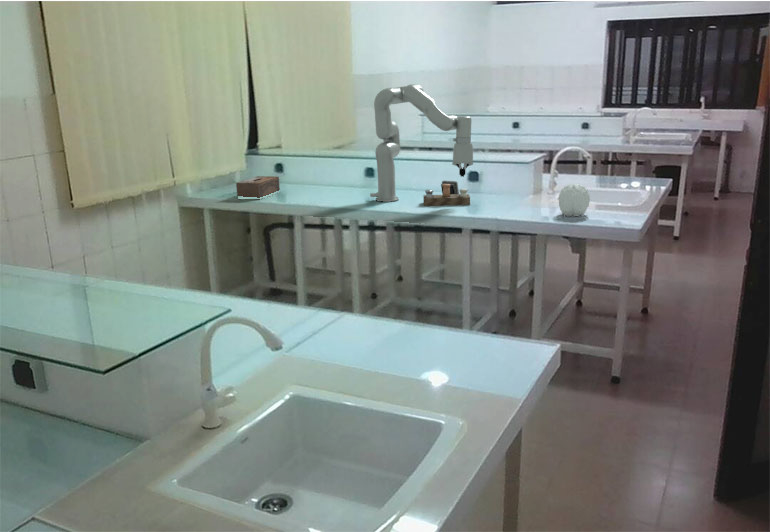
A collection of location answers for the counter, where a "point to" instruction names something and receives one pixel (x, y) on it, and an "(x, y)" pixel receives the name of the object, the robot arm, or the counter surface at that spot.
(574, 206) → the brain
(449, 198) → the socket board
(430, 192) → the plug grey
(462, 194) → the plug ivory
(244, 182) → the tissue box cover
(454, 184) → the electrical switch
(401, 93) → the robot arm
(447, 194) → the plug terracotta
